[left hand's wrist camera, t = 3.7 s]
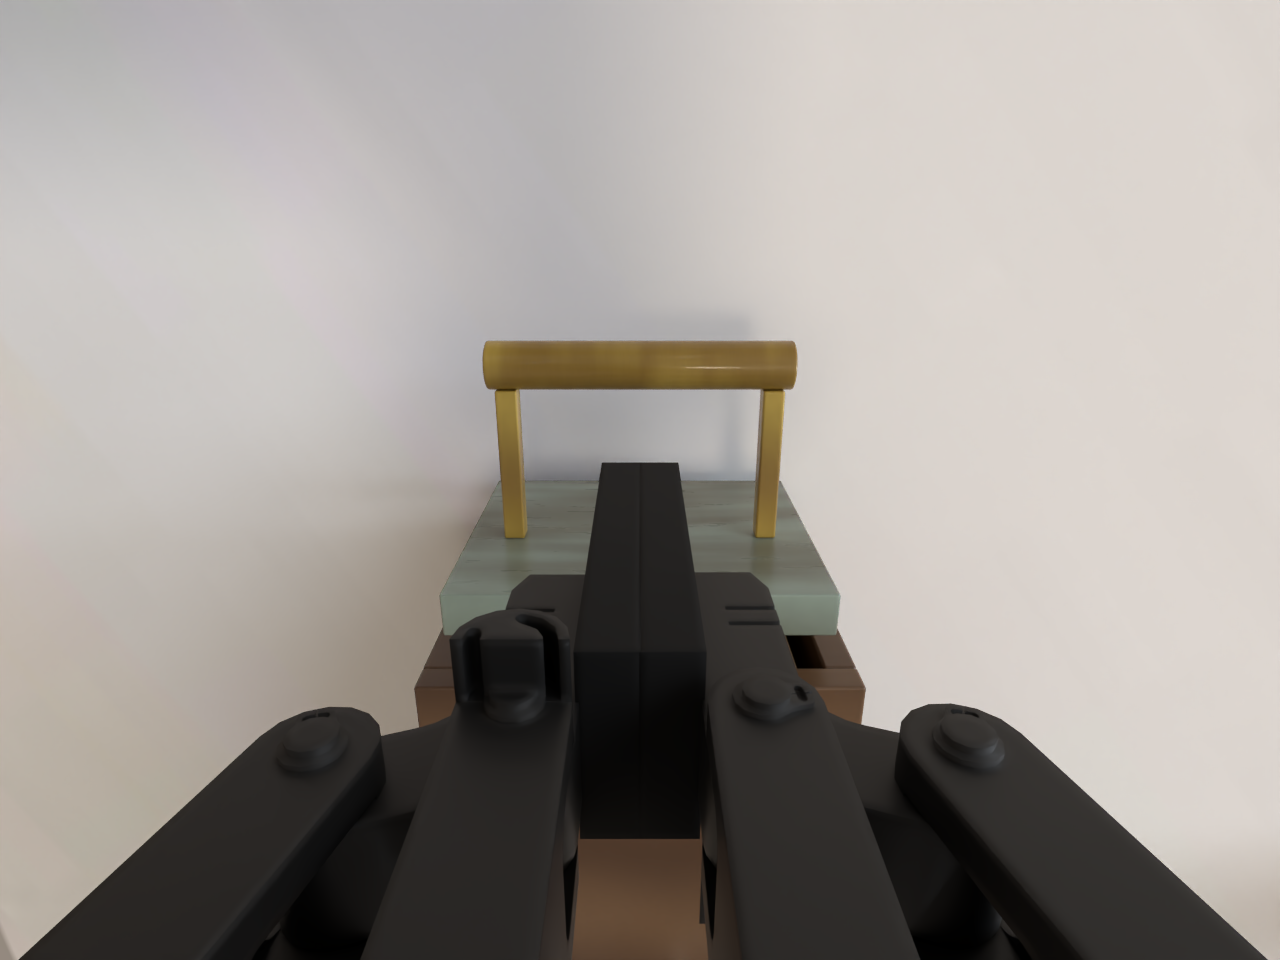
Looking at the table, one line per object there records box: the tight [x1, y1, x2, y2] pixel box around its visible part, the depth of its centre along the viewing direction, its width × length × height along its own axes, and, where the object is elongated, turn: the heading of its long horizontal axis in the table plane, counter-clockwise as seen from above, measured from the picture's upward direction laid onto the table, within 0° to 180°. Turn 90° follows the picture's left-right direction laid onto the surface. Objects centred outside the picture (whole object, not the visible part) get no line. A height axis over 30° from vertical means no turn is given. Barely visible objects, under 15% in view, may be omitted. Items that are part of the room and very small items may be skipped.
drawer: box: [440, 341, 840, 669], centre depth 25 cm, size 25×10×8 cm, turn 0°
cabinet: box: [414, 628, 866, 960], centre depth 27 cm, size 20×11×10 cm, turn 0°
